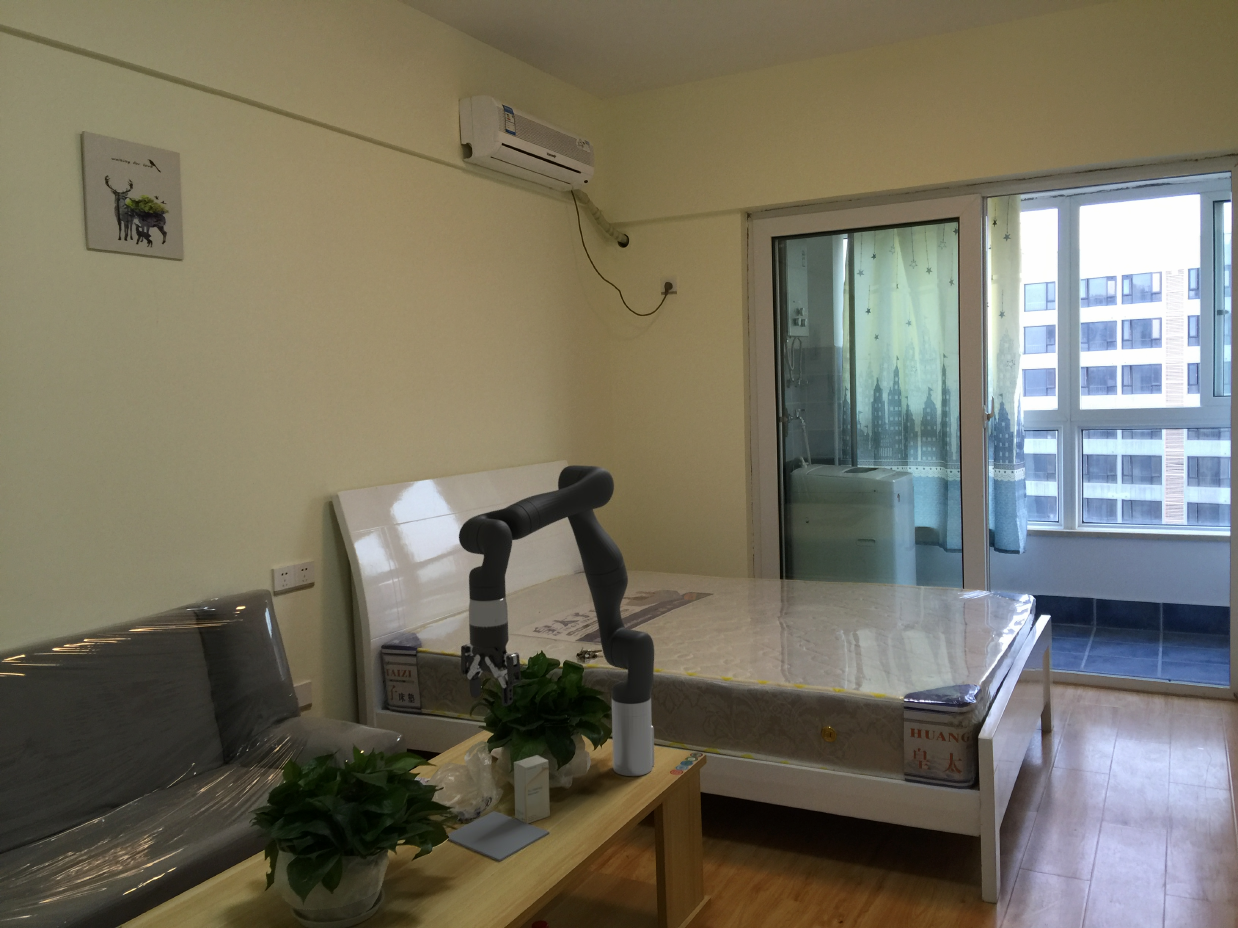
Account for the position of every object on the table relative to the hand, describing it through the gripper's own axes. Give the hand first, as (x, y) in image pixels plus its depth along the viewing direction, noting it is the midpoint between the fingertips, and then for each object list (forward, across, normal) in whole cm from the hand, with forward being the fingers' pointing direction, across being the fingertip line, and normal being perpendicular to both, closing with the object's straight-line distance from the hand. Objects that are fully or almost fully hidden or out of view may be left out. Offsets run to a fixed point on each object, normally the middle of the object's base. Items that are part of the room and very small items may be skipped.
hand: (491, 700), depth 189 cm
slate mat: (+29, +2, -2) cm, 29 cm away
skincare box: (+29, +2, -13) cm, 32 cm away
